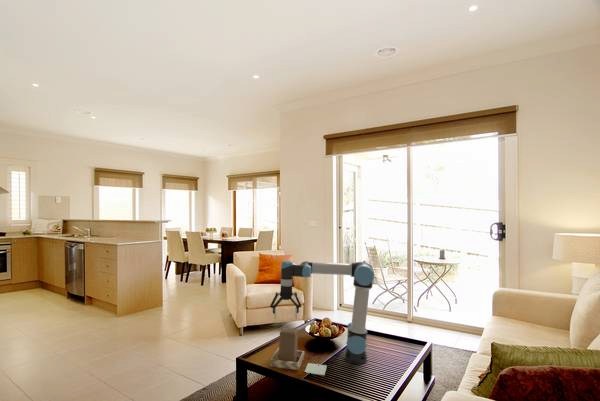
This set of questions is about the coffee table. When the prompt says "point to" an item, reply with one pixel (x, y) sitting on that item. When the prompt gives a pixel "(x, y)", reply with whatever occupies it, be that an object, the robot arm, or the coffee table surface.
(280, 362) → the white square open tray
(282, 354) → the wooden block
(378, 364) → the coffee table surface
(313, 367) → the pad
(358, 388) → the coffee table surface
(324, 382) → the coffee table surface
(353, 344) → the robot arm
